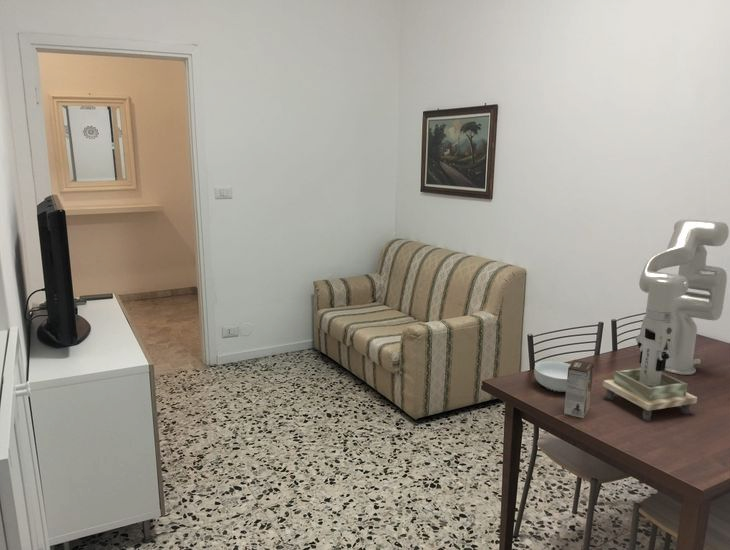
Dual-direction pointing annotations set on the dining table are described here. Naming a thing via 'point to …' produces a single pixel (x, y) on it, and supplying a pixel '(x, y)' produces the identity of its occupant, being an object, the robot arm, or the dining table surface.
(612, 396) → the framed shelf
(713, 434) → the dining table surface
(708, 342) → the dining table surface
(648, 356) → the travel mug
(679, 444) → the dining table surface
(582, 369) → the coffee box
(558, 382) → the cereal bowl
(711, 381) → the dining table surface
